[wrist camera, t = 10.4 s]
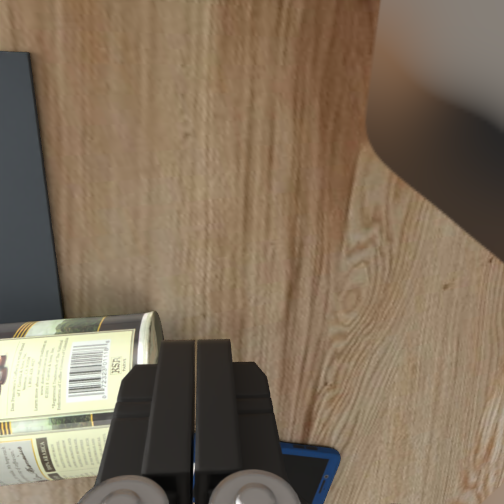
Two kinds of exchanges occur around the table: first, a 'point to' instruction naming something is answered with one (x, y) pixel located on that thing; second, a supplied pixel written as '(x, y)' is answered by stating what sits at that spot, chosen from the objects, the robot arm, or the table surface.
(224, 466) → the robot arm
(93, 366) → the coffee can
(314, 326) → the table surface
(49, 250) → the mat
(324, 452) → the cell phone
